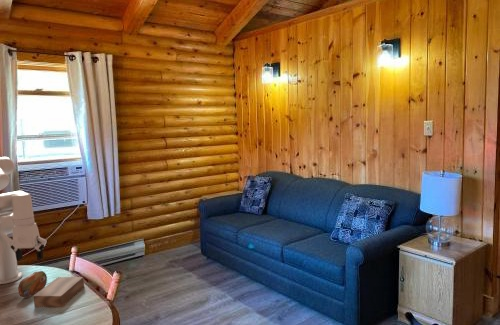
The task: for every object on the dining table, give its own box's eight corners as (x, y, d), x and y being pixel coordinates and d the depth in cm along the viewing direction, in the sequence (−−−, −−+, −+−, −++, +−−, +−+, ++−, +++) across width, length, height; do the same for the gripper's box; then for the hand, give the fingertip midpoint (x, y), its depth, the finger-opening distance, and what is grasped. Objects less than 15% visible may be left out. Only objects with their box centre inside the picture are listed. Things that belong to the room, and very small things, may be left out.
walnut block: (34, 307, 166) (33, 296, 165) (59, 287, 184) (58, 277, 183) (62, 307, 165) (60, 296, 164) (84, 287, 182) (83, 277, 182)
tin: (24, 301, 172) (21, 282, 171) (18, 300, 173) (15, 282, 172) (48, 285, 187) (46, 268, 185) (42, 285, 187) (40, 267, 186)
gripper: (-1, 224, 172) (5, 263, 174) (37, 223, 170) (43, 262, 173) (11, 219, 179) (17, 256, 182) (48, 218, 178) (53, 255, 180)
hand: (29, 259), depth 177 cm, fingers open, 9 cm apart
